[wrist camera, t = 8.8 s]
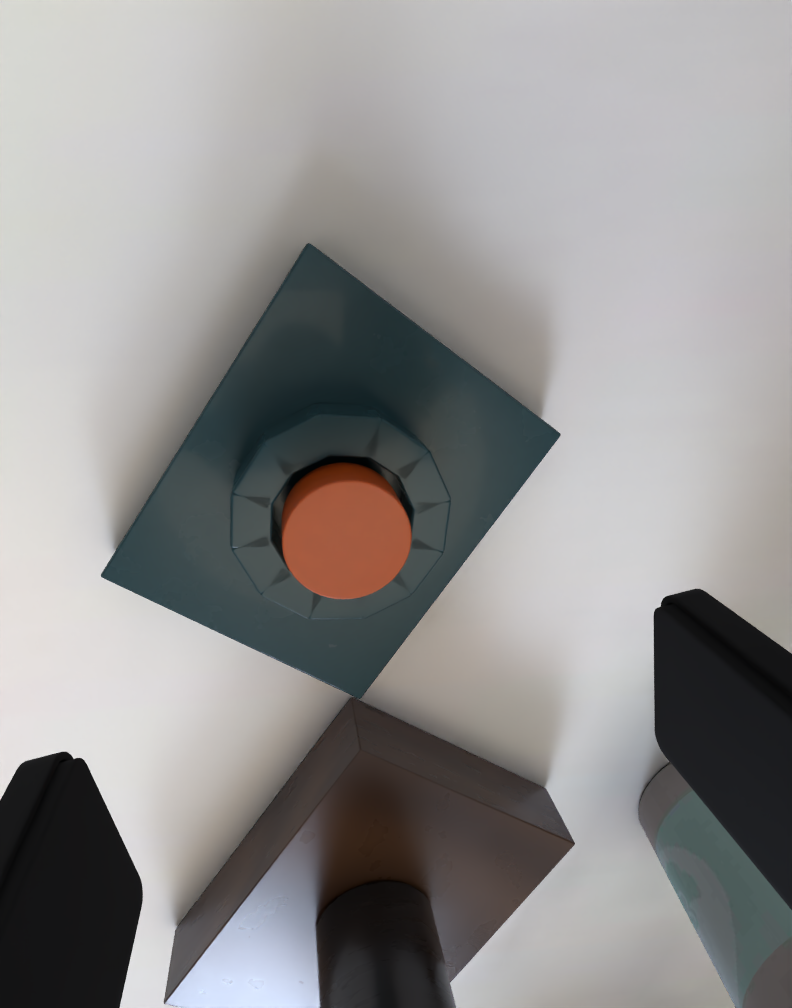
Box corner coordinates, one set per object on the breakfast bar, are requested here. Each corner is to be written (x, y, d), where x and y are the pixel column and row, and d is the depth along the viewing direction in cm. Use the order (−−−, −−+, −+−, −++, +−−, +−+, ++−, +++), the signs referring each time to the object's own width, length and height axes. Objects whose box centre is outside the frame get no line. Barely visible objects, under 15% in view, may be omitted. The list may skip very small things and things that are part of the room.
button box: (305, 245, 18) (311, 237, 15) (541, 423, 22) (587, 448, 18) (113, 554, 20) (82, 605, 17) (354, 672, 24) (366, 733, 21)
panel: (351, 696, 24) (360, 749, 21) (546, 788, 28) (576, 843, 25) (175, 929, 27) (162, 1004, 24) (375, 985, 30) (385, 1055, 28)
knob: (292, 948, 24) (296, 1139, 19) (358, 865, 23) (382, 1040, 18) (389, 975, 26) (417, 1157, 20) (454, 898, 25) (502, 1068, 19)
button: (324, 438, 17) (329, 454, 16) (423, 501, 18) (437, 522, 17) (258, 537, 18) (256, 562, 16) (357, 591, 19) (364, 619, 17)
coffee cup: (604, 758, 28) (818, 1071, 17) (770, 703, 29) (1081, 969, 18) (618, 881, 31) (806, 1212, 20) (768, 829, 32) (1029, 1120, 21)
